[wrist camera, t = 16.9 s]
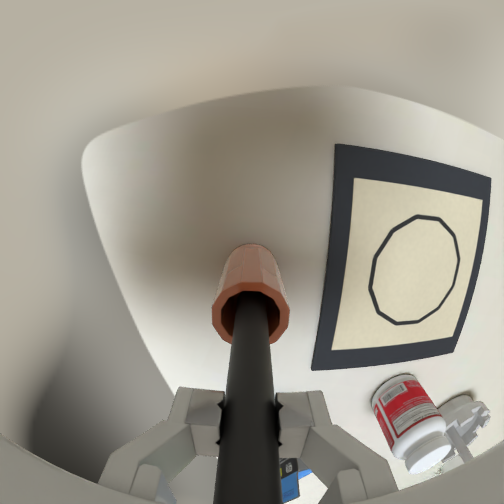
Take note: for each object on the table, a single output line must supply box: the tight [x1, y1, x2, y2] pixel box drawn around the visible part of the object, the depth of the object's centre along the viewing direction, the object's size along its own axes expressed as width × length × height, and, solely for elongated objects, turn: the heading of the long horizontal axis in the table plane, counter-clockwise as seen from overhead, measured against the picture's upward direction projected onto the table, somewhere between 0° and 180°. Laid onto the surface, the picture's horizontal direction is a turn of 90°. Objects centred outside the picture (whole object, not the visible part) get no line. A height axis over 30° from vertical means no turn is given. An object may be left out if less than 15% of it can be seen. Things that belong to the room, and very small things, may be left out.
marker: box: [213, 291, 283, 504], centre depth 11 cm, size 2×2×14 cm
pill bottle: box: [372, 375, 451, 474], centre depth 20 cm, size 6×6×11 cm
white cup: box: [440, 455, 464, 474], centre depth 29 cm, size 7×7×10 cm
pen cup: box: [212, 244, 290, 344], centre depth 18 cm, size 4×4×8 cm
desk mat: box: [311, 144, 491, 371], centre depth 22 cm, size 20×18×1 cm
